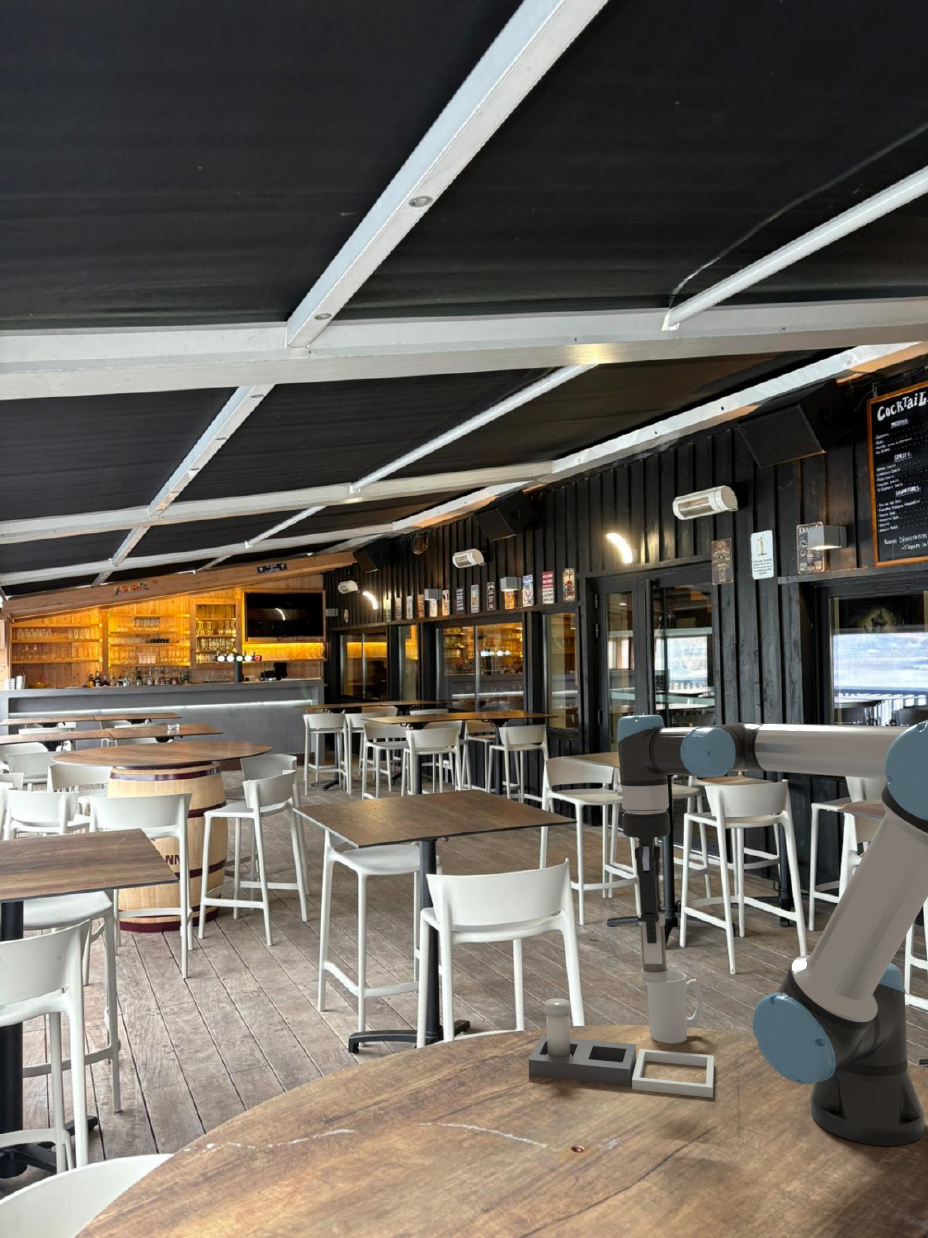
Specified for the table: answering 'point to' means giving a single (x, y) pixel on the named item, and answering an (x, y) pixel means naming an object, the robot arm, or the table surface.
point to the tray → (674, 1086)
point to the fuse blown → (655, 971)
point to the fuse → (558, 1027)
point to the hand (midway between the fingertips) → (654, 958)
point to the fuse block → (586, 1062)
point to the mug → (672, 1008)
